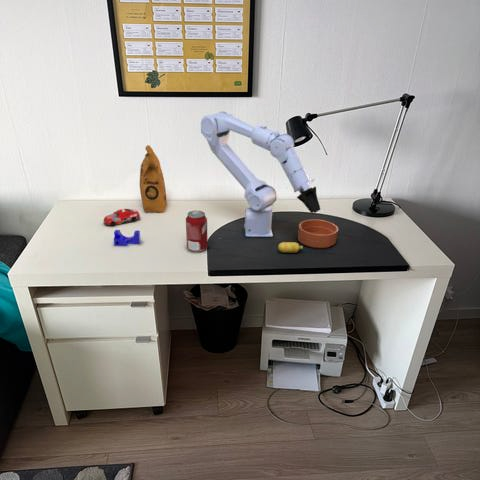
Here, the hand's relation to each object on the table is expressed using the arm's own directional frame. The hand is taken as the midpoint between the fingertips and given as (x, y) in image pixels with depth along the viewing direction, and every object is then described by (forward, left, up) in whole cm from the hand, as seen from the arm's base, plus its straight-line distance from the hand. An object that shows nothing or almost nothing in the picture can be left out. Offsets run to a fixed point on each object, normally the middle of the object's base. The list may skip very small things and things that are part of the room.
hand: (315, 211), depth 139 cm
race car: (-66, +20, -13) cm, 70 cm away
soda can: (-38, -1, -13) cm, 40 cm away
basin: (+3, +6, -13) cm, 14 cm away
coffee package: (-56, +34, -13) cm, 67 cm away
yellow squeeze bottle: (-8, -3, -13) cm, 16 cm away
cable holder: (-61, +2, -13) cm, 62 cm away
